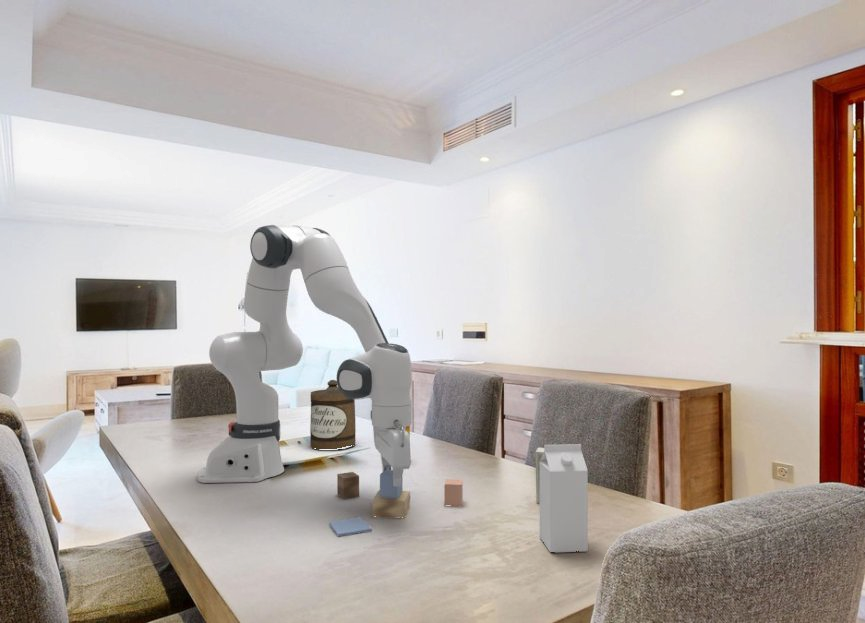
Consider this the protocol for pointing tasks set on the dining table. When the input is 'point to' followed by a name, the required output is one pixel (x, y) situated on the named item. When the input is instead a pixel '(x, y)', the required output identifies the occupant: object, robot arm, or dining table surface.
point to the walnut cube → (348, 485)
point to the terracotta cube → (453, 492)
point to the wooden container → (332, 418)
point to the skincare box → (538, 472)
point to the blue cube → (389, 486)
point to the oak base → (391, 505)
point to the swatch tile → (349, 526)
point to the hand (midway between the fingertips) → (391, 479)
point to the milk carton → (564, 498)
